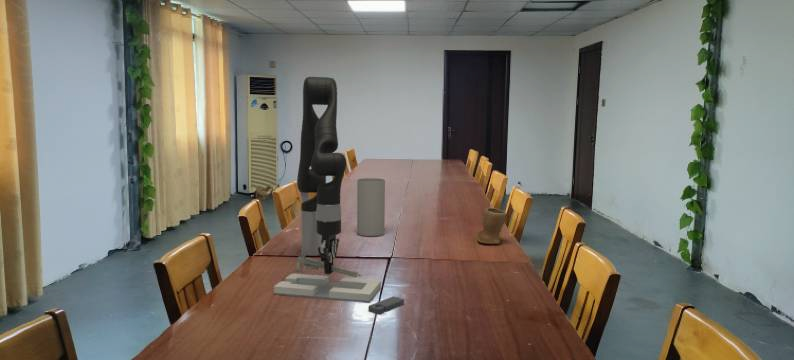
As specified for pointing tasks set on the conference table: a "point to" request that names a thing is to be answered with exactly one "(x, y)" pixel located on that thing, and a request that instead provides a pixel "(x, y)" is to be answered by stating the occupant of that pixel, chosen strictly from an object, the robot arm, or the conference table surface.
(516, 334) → the conference table surface
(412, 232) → the conference table surface
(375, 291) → the case insert
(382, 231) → the cylinder vase
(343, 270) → the caliper
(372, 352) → the conference table surface
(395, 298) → the bracket
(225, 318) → the conference table surface
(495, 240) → the brown boot-shaped vase
